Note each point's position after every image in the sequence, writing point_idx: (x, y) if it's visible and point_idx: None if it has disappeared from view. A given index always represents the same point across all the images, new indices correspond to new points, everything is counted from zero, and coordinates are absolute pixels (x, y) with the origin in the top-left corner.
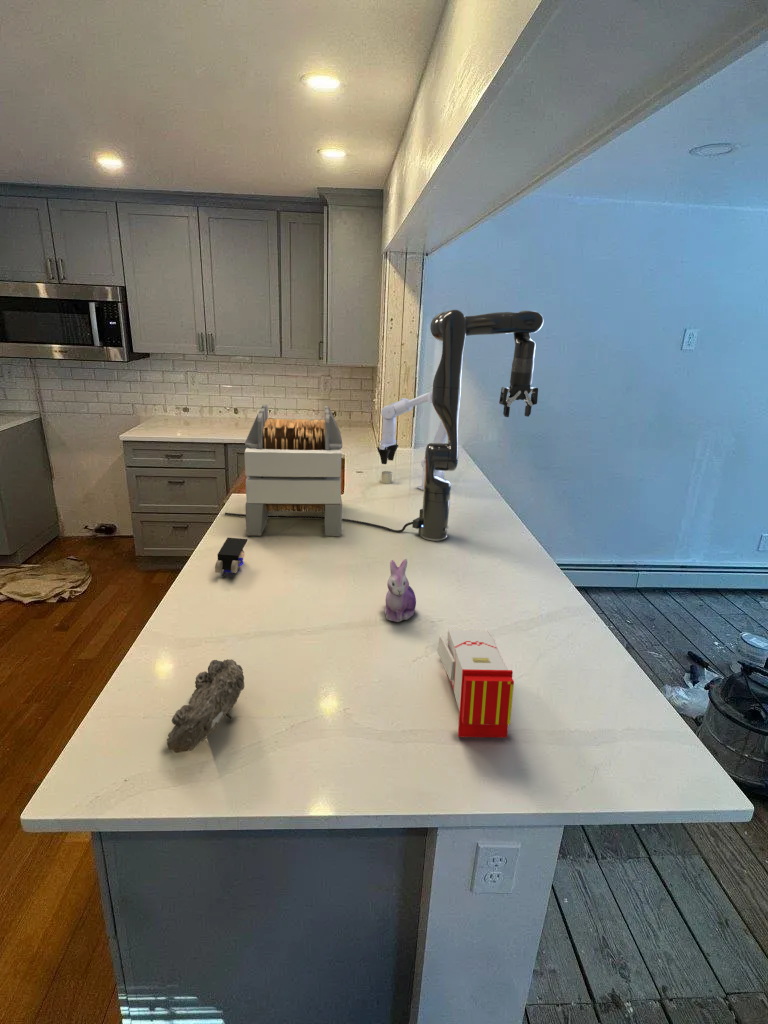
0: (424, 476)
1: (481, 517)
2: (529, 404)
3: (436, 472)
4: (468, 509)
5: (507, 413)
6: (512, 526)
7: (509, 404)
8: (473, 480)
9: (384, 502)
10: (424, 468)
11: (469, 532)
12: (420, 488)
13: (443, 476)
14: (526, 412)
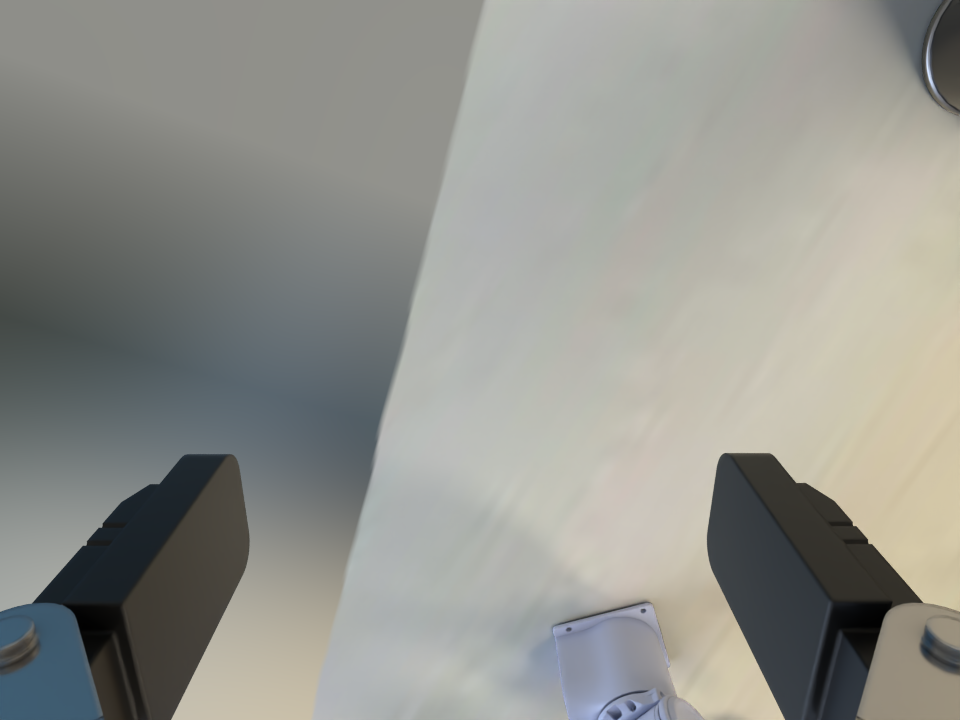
0: (674, 688)
1: (584, 243)
2: (78, 648)
3: (628, 690)
4: (586, 364)
5: (797, 494)
6: (492, 76)
7: (920, 658)
8: (345, 708)
9: (924, 528)
10: (701, 717)
11: (774, 49)
12: (665, 648)
13: (566, 682)
14: (213, 551)
